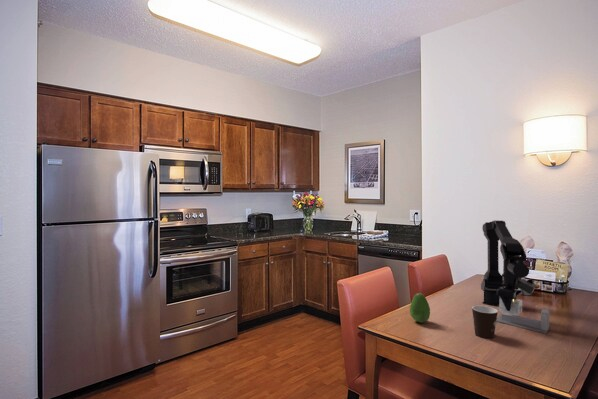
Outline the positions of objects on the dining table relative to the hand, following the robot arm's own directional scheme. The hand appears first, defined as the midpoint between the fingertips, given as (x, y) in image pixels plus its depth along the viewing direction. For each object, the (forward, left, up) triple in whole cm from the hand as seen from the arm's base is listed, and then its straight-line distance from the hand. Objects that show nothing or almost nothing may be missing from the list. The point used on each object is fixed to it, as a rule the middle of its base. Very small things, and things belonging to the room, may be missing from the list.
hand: (510, 308), depth 146 cm
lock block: (0, 0, -1) cm, 1 cm away
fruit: (-27, -27, -6) cm, 39 cm away
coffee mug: (-3, -21, -6) cm, 22 cm away
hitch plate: (+4, 0, -5) cm, 7 cm away
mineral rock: (-7, +53, -6) cm, 54 cm away
